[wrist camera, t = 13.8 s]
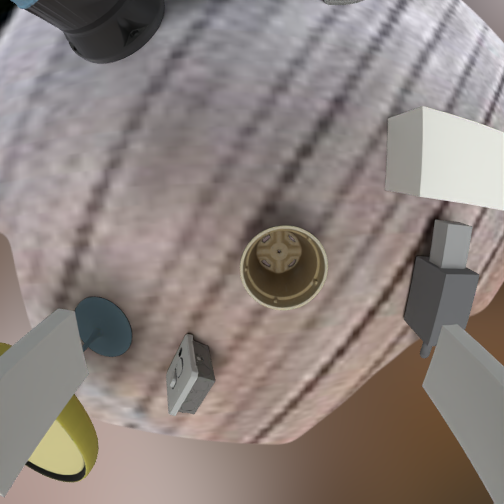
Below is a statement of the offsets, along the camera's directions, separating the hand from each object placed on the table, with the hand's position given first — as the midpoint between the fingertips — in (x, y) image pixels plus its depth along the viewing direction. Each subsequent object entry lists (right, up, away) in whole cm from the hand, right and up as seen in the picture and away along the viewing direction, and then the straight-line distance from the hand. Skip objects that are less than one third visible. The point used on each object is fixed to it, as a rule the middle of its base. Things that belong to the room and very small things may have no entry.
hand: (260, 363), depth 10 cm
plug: (+26, -1, +32) cm, 41 cm away
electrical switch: (-9, -13, +37) cm, 40 cm away
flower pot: (+3, +4, +32) cm, 32 cm away
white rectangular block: (+27, +16, +28) cm, 42 cm away
